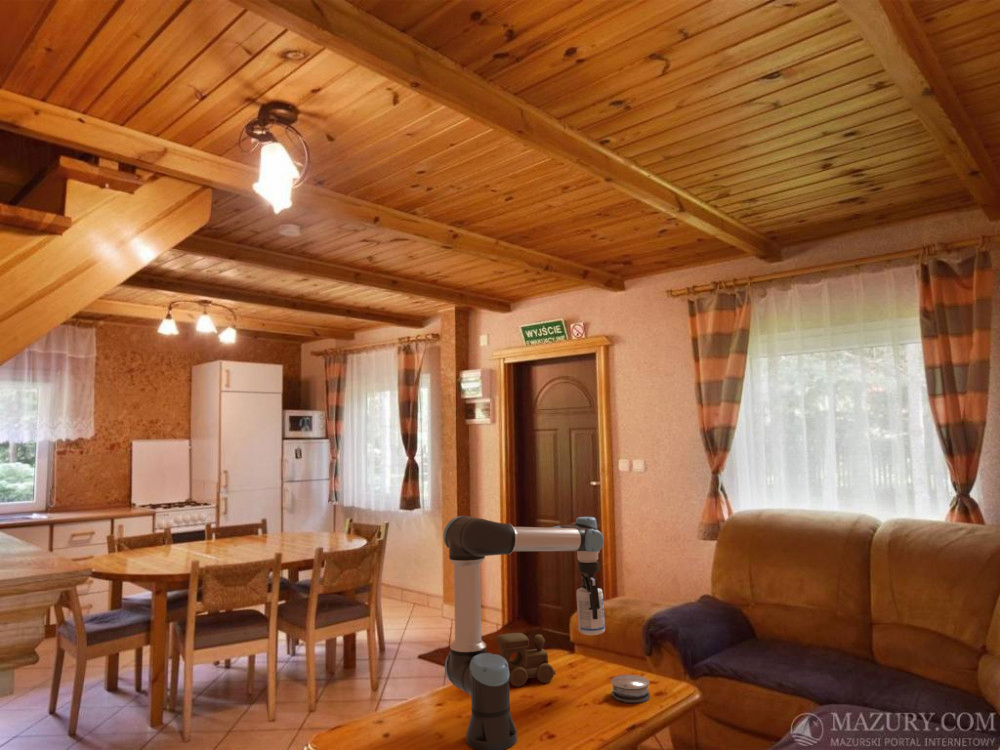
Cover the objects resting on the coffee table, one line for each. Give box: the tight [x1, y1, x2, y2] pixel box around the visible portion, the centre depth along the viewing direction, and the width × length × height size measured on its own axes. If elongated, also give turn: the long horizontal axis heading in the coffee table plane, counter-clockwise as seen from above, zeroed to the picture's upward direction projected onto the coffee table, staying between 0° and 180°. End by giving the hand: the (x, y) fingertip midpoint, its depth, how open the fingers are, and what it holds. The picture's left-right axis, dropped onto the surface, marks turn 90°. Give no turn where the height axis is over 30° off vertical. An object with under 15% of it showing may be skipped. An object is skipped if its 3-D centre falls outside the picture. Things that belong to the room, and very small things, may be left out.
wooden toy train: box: [496, 632, 557, 688], centre depth 246 cm, size 20×11×17 cm, turn 106°
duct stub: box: [610, 674, 651, 705], centre depth 227 cm, size 13×13×5 cm
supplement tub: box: [576, 587, 606, 636], centre depth 236 cm, size 10×10×15 cm
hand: (591, 624), depth 235 cm, fingers closed on supplement tub, 10 cm apart
